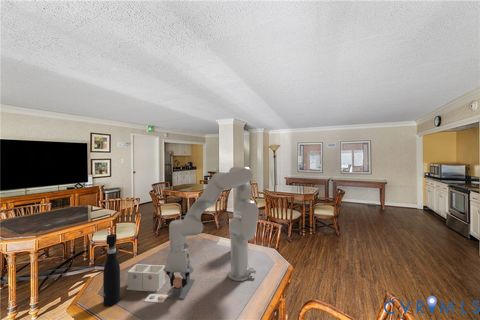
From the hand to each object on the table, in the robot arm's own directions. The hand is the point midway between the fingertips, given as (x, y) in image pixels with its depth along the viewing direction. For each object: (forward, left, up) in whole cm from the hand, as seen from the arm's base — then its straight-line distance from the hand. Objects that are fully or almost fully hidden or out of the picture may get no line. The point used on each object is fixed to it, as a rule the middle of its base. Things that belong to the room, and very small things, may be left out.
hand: (178, 285), depth 97 cm
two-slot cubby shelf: (+19, -5, -5) cm, 20 cm away
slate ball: (0, -9, -1) cm, 9 cm away
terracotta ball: (0, 0, -1) cm, 1 cm away
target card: (+9, +4, -5) cm, 11 cm away
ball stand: (0, -4, -5) cm, 6 cm away
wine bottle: (+28, +8, -5) cm, 30 cm away
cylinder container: (-24, -51, -5) cm, 57 cm away
